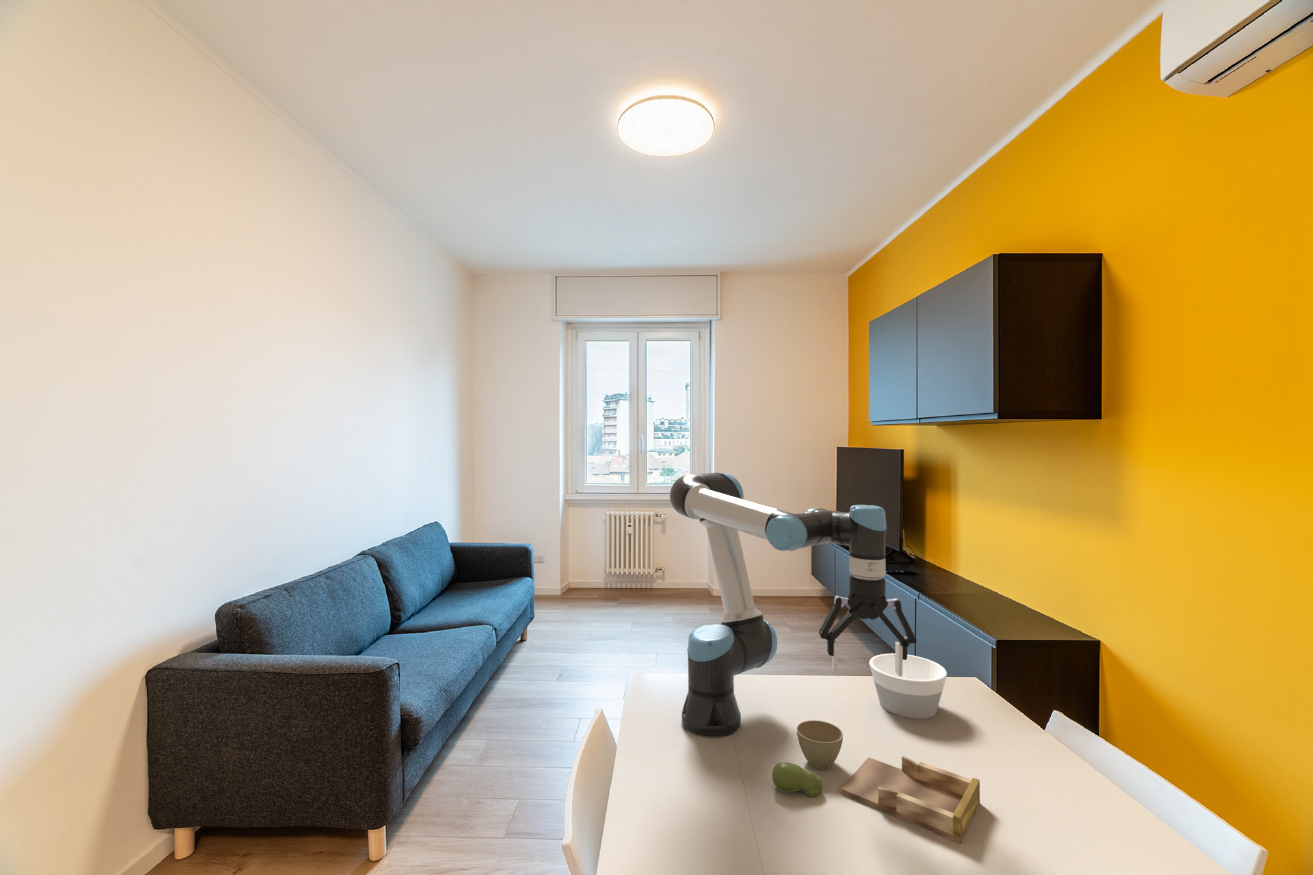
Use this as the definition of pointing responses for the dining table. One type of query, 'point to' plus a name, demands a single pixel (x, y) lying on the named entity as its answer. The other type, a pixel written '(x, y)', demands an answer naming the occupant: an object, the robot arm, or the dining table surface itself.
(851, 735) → the dining table surface
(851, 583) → the robot arm
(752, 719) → the dining table surface
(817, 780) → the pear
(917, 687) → the bowl
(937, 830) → the slot board
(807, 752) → the flower pot
